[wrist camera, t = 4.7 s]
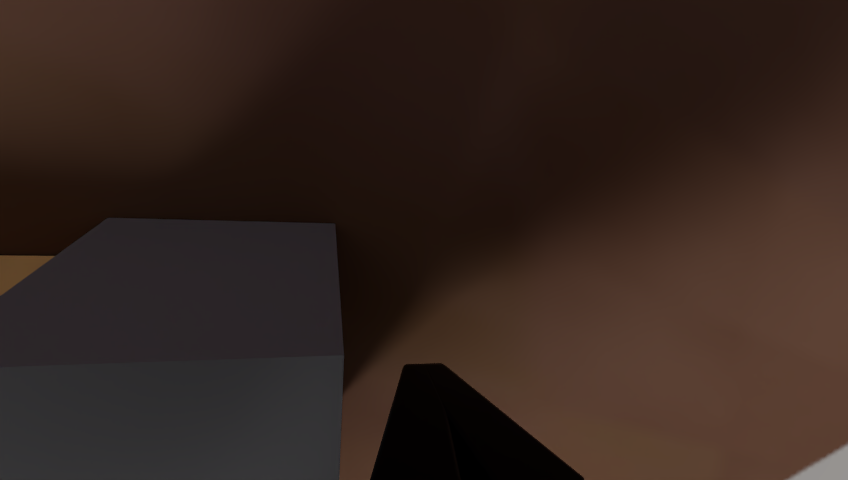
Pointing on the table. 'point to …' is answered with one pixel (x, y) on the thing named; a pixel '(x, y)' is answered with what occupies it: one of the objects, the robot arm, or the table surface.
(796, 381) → the table surface
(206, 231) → the plug
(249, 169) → the table surface
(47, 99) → the table surface
